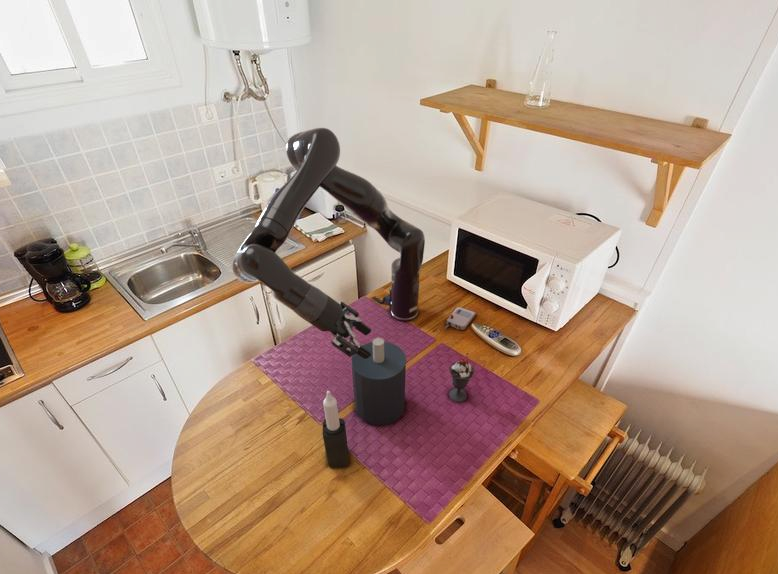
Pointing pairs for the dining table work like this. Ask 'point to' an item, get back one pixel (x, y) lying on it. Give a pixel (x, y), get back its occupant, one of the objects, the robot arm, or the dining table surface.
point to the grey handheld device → (460, 318)
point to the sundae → (460, 378)
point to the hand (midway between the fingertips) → (368, 344)
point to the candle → (334, 434)
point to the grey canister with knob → (379, 383)
